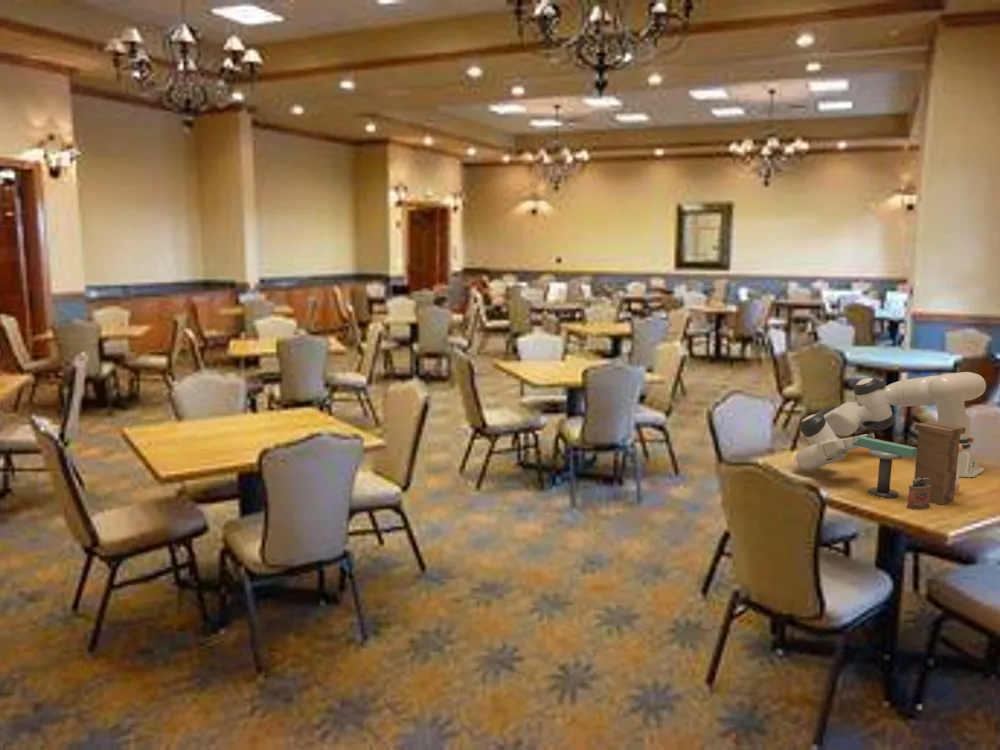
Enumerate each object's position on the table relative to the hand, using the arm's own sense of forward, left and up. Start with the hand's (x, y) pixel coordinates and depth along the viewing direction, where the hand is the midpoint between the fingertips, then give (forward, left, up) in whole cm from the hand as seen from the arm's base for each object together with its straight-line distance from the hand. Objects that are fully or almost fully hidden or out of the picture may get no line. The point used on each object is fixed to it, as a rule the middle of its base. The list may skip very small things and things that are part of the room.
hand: (865, 437), depth 300 cm
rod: (0, +7, -3) cm, 8 cm away
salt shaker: (-22, +19, -19) cm, 35 cm away
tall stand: (-9, +21, -19) cm, 30 cm away
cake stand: (0, +8, -19) cm, 21 cm away
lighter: (+4, +23, -19) cm, 30 cm away
